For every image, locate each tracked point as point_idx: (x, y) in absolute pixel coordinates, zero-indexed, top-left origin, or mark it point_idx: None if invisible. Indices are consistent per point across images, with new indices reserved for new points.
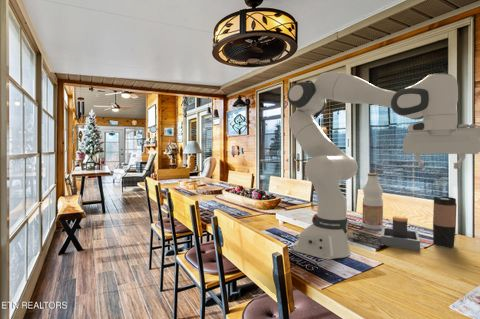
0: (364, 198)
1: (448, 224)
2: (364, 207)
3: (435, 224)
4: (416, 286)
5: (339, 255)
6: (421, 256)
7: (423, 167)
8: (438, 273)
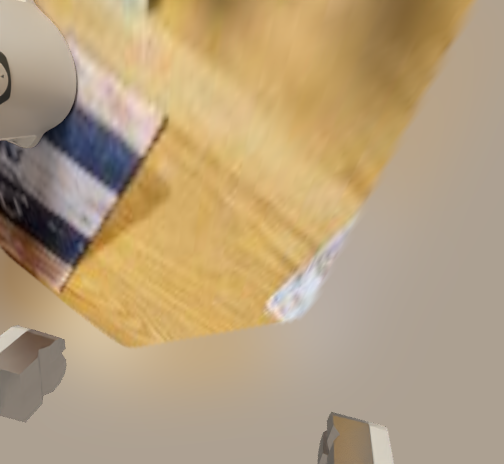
0: None
1: None
2: None
3: None
4: (227, 239)
5: (50, 125)
6: (294, 6)
7: (61, 372)
8: (301, 149)
